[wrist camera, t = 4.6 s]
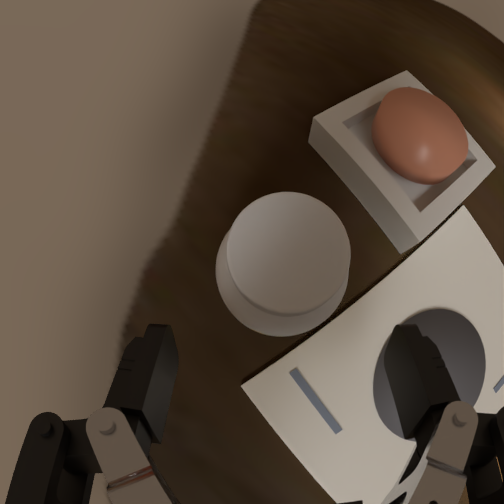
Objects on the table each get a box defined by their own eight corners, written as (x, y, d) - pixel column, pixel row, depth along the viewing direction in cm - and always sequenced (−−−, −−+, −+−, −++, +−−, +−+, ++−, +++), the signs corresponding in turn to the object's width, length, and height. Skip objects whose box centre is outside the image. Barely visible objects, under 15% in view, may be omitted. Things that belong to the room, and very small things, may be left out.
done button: (409, 93, 20) (418, 76, 18) (469, 158, 18) (482, 144, 16) (351, 126, 19) (358, 107, 17) (418, 202, 18) (432, 189, 16)
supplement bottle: (335, 311, 19) (399, 290, 10) (253, 350, 19) (244, 369, 9) (296, 232, 20) (322, 150, 11) (216, 269, 20) (176, 212, 10)
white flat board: (461, 206, 20) (464, 203, 20) (543, 353, 17) (547, 353, 17) (241, 385, 18) (240, 386, 18) (365, 531, 15) (366, 535, 14)
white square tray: (395, 92, 23) (406, 70, 20) (475, 183, 21) (495, 166, 18) (308, 142, 22) (313, 117, 19) (400, 254, 20) (419, 242, 17)
